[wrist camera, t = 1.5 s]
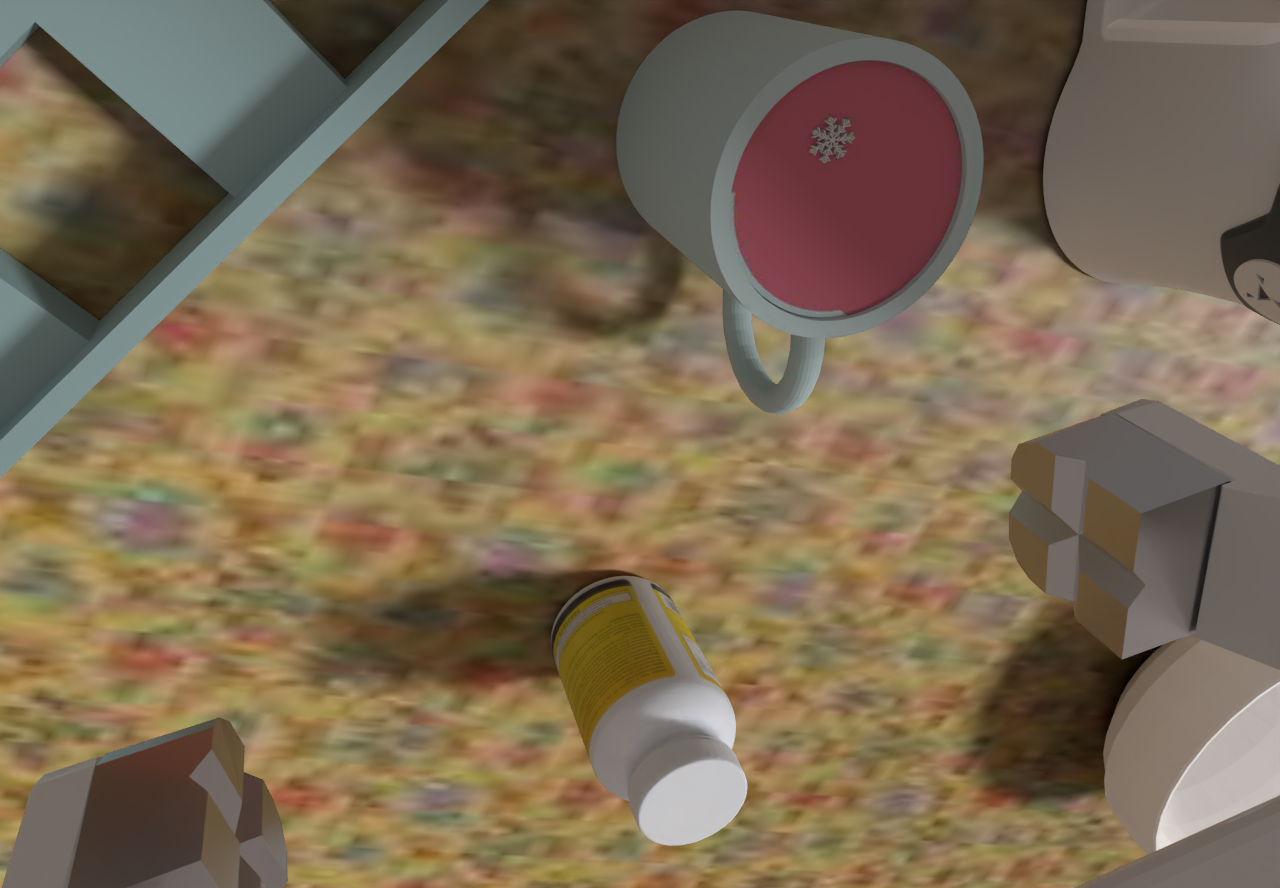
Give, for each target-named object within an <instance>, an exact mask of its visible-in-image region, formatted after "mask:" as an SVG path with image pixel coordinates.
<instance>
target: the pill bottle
mask: <svg viewBox="0 0 1280 888" xmlns="http://www.w3.org/2000/svg"><path fill="white" fill-rule="evenodd" d="M551 649H552V654H553V658H554V661H555V664H556V666H557V669H558V672H559V675H560V678H561V681H562V683H563V686H564V689H565V692H566V695H567V698H568V700H569V703H570V706H571V709H572V712H573V714H574V717H575V720H576V723H577V726H578V728H579V731H580V734H581V737H582V739H583V742H584V745H585V748H586V750H587V753H588V756H589V759H590V762H591V765H592V767H593V770H594V772H595V774H596V776H597V778H598V779H599V780H600V782H601V783H602V784H603V785H604V786H605V788H607V789H608V790H609V791H610V792H612V793H613V794H615V795H616V796H618V797H620V798H623V799H625V800H628V801H629V804H630V808H631V810H632V812H633V815H634V817H635V819H636V822H637V824H638V826H639V828H640V830H641V831H642V833H643V834H644V835H645V836H646V837H647V838H649V839H650V840H652V841H654V842H656V843H659V844H663V845H684V844H689V843H693V842H697V841H699V840H702V839H704V838H706V837H708V836H710V835H712V834H714V833H716V832H717V831H719V830H720V829H721V828H723V827H724V826H725V825H727V824H728V823H729V822H730V821H731V820H732V819H733V818H734V817H735V815H736V814H737V813H738V811H739V810H740V808H741V807H742V805H743V803H744V800H745V797H746V794H747V780H746V777H745V774H744V772H743V770H742V768H741V766H740V764H739V762H738V759H737V757H736V755H735V753H734V752H733V751H732V747H733V744H734V740H735V733H736V721H735V715H734V712H733V708H732V706H731V704H730V701H729V699H728V697H727V696H726V694H725V692H724V690H723V689H722V687H721V685H720V683H719V681H718V680H717V678H716V676H715V675H714V673H713V671H712V669H711V668H710V666H709V664H708V662H707V660H706V659H705V657H704V655H703V653H702V652H701V650H700V648H699V646H698V645H697V643H696V641H695V639H694V638H693V636H692V634H691V632H690V631H689V629H688V627H687V625H686V624H685V622H684V620H683V618H682V616H681V615H680V613H679V611H678V609H677V607H676V606H675V604H674V602H673V601H672V599H671V598H670V596H669V595H668V594H667V593H666V592H665V591H664V590H663V589H662V588H661V587H660V586H658V585H657V584H655V583H653V582H651V581H649V580H647V579H644V578H640V577H635V576H616V577H610V578H606V579H603V580H600V581H597V582H595V583H592V584H590V585H588V586H587V587H585V588H583V589H582V590H580V591H579V592H578V593H576V594H575V595H574V596H573V597H572V598H571V599H569V601H568V602H567V603H566V604H565V605H564V606H563V608H562V609H561V611H560V612H559V614H558V616H557V618H556V620H555V622H554V625H553V628H552V633H551Z"/></svg>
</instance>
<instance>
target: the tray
mask: <svg viewBox="0 0 1280 888" xmlns="http://www.w3.org/2000/svg"><path fill="white" fill-rule="evenodd" d="M488 1H489V0H424V1H423V2H422V3H421V4H420V5H419V6H418V7H417V8H416V9H415V10H414V11H413V12H412V13H411V14H410V15H409V16H408V17H407V18H406V19H405V20H404V21H403V22H402V23H401V24H400V25H399V26H398V27H397V28H396V29H395V30H394V31H393V32H392V33H391V34H390V35H389V36H388V37H387V38H386V39H385V40H384V41H383V42H382V43H381V44H380V45H379V46H378V47H377V48H376V49H375V50H374V51H373V52H372V53H371V54H369V55H368V56H367V57H366V58H365V59H364V60H363V61H362V62H361V63H360V64H359V65H358V66H357V67H356V68H355V69H354V70H353V71H352V72H351V73H350V74H349V75H348V76H347V77H346V78H345V79H344V78H343V77H342V76H341V75H340V74H339V72H338V71H337V70H336V69H335V68H334V67H333V66H332V65H331V64H330V63H329V62H328V61H327V60H326V59H325V58H324V57H323V56H322V55H321V54H320V53H319V52H318V51H317V50H316V49H315V48H314V46H313V45H312V44H311V43H310V42H309V41H308V40H307V39H306V38H305V37H304V36H303V35H302V34H301V33H300V32H299V31H298V30H297V29H296V28H295V27H294V26H293V25H292V24H291V23H290V22H289V21H288V19H287V18H286V17H285V16H284V15H283V14H282V13H281V12H280V11H279V10H278V9H277V8H276V7H275V6H274V5H273V4H272V3H271V2H270V1H269V0H0V68H1V66H2V65H3V64H4V63H5V62H6V61H7V60H8V59H9V58H10V57H11V56H12V55H13V54H14V53H15V52H16V51H17V50H18V49H19V48H20V47H21V46H22V45H23V44H24V43H25V42H26V40H27V39H28V38H29V37H30V36H31V35H32V34H33V33H34V32H35V31H36V30H37V29H38V28H39V27H41V28H42V29H44V30H45V31H46V32H47V33H48V34H49V35H50V36H52V37H53V38H54V39H55V40H56V41H57V42H58V43H59V44H61V45H62V46H63V47H64V48H65V49H66V50H67V51H69V52H70V53H71V54H72V55H73V56H74V57H75V58H76V59H78V60H79V61H80V62H81V63H82V64H83V65H84V66H86V67H87V68H88V69H89V70H90V71H91V72H92V73H94V74H95V75H96V76H97V77H98V78H99V79H100V80H101V81H103V82H104V83H105V84H106V85H107V86H108V87H109V88H111V89H112V90H113V91H114V92H115V93H116V94H117V95H118V96H120V97H121V98H122V99H123V100H124V101H125V102H126V103H128V104H129V105H130V106H131V107H132V108H133V109H134V110H136V111H137V112H138V113H139V114H140V115H141V116H142V117H143V118H145V119H146V120H147V121H148V122H149V123H150V124H151V125H153V126H154V127H155V128H156V129H157V130H158V131H159V132H160V133H162V134H163V135H164V136H165V137H166V138H167V139H168V140H170V141H171V142H172V143H173V144H174V145H175V146H176V147H177V148H179V149H180V150H181V151H182V152H183V153H184V154H185V155H187V156H188V157H189V158H190V159H191V160H192V161H193V162H195V163H196V164H197V165H198V166H199V167H200V168H201V169H202V170H204V171H205V172H206V173H207V174H208V175H209V176H210V177H212V178H213V179H214V180H215V181H216V182H217V183H218V184H219V185H221V186H222V187H223V188H224V189H225V190H226V191H227V192H229V194H228V195H227V196H225V197H224V198H223V199H222V200H221V201H220V202H219V203H218V204H217V205H216V206H215V207H214V208H213V209H212V210H211V211H210V212H209V213H208V214H207V215H206V216H205V217H204V218H203V219H202V220H201V221H200V222H199V223H198V224H197V225H196V226H195V227H194V228H193V229H192V230H191V231H190V232H189V233H188V234H187V235H186V236H185V237H184V238H183V239H182V240H181V241H180V242H179V243H178V244H177V245H176V246H175V247H174V248H173V249H172V250H171V251H170V252H169V253H168V254H167V255H166V256H165V257H164V258H163V259H162V260H161V261H160V262H159V263H158V264H157V265H156V266H155V267H153V268H152V269H151V270H150V271H149V272H148V273H147V274H146V275H145V276H144V277H143V278H142V279H141V280H140V281H139V282H138V283H137V284H136V285H135V286H134V287H133V288H132V289H131V290H130V291H129V292H128V293H127V294H126V295H125V296H124V297H123V298H122V299H121V300H120V301H119V302H118V303H117V304H116V305H115V306H114V307H113V308H112V309H111V310H110V311H109V312H108V313H107V314H106V315H105V316H104V317H103V318H102V319H101V320H100V321H99V320H98V319H97V318H95V317H94V316H92V315H91V314H90V313H88V312H87V311H86V310H84V309H83V308H81V307H80V306H79V305H77V304H76V303H75V302H73V301H72V300H71V299H69V298H68V297H66V296H65V295H64V294H62V293H61V292H60V291H58V290H57V289H55V288H54V287H53V286H51V285H50V284H49V283H47V282H46V281H45V280H43V279H42V278H40V277H39V276H38V275H36V274H35V273H34V272H32V271H31V270H30V269H28V268H27V267H25V266H24V265H23V264H21V263H20V262H19V261H17V260H16V259H14V258H13V257H12V256H10V255H9V254H8V253H6V252H5V251H4V250H2V249H1V248H0V478H1V477H2V476H3V475H4V474H5V473H6V472H7V471H8V470H9V469H10V468H11V467H12V466H13V465H14V464H15V463H16V462H17V461H18V460H19V459H20V458H21V457H22V456H23V455H24V454H25V453H26V452H27V451H28V450H30V449H31V448H32V447H33V446H34V445H35V444H36V443H37V442H38V441H39V440H40V439H41V438H42V437H43V436H44V435H45V434H46V433H47V432H48V431H49V430H50V429H51V428H52V427H53V426H54V425H55V424H56V423H57V422H58V421H59V420H60V419H61V418H62V417H63V416H64V415H65V414H66V413H67V412H68V411H69V410H70V409H71V408H72V407H74V406H75V405H76V404H77V403H78V402H79V401H80V400H81V399H82V398H83V397H84V396H85V395H86V394H87V393H88V392H89V391H90V390H91V389H92V388H93V387H94V386H95V385H96V384H97V383H98V382H99V381H100V380H101V379H102V378H103V377H104V376H105V375H106V374H107V373H108V372H109V371H110V370H111V369H112V368H113V367H114V366H115V365H117V364H118V363H119V362H120V361H121V360H122V359H123V358H124V357H125V356H126V355H127V354H128V353H129V352H130V351H131V350H132V349H133V348H134V347H135V346H136V345H137V344H138V343H139V342H140V341H141V340H142V339H143V338H144V337H145V336H146V335H147V334H148V333H149V332H150V331H151V330H152V329H153V328H154V327H155V326H156V325H157V324H158V323H159V322H161V321H162V320H163V319H164V318H165V317H166V316H167V315H168V314H169V313H170V312H171V311H172V310H173V309H174V308H175V307H176V306H177V305H178V304H179V303H180V302H181V301H182V300H183V299H184V298H185V297H186V296H187V295H188V294H189V293H190V292H191V291H192V290H193V289H194V288H195V287H196V286H197V285H198V284H199V283H200V282H201V281H202V280H203V279H205V278H206V277H207V276H208V275H209V274H210V273H211V272H212V271H213V270H214V269H215V268H216V267H217V266H218V265H219V264H220V263H221V262H222V261H223V260H224V259H225V258H226V257H227V256H228V255H229V254H230V253H231V252H232V251H233V250H234V249H235V248H236V247H237V246H238V245H239V244H240V243H241V242H242V241H243V240H244V239H245V238H246V237H247V236H249V235H250V234H251V233H252V232H253V231H254V230H255V229H256V228H257V227H258V226H259V225H260V224H261V223H262V222H263V221H264V220H265V219H266V218H267V217H268V216H269V215H270V214H271V213H272V212H273V211H274V210H275V209H276V208H277V207H278V206H279V205H280V204H281V203H282V202H283V201H284V200H285V199H286V198H287V197H288V196H289V195H290V194H292V193H293V192H294V191H295V190H296V189H297V188H298V187H299V186H300V185H301V184H302V183H303V182H304V181H305V180H306V179H307V178H308V177H309V176H310V175H311V174H312V173H313V172H314V171H315V170H316V169H317V168H318V167H319V166H320V165H321V164H322V163H323V162H324V161H325V160H326V159H327V158H328V157H329V156H330V155H331V154H332V153H333V152H334V151H336V150H337V149H338V148H339V147H340V146H341V145H342V144H343V143H344V142H345V141H346V140H347V139H348V138H349V137H350V136H351V135H352V134H353V133H354V132H355V131H356V130H357V129H358V128H359V127H360V126H361V125H362V124H363V123H364V122H365V121H366V120H367V119H368V118H369V117H370V116H371V115H372V114H373V113H374V112H375V111H376V110H377V109H378V108H380V107H381V106H382V105H383V104H384V103H385V102H386V101H387V100H388V99H389V98H390V97H391V96H392V95H393V94H394V93H395V92H396V91H397V90H398V89H399V88H400V87H401V86H402V85H403V84H404V83H405V82H406V81H407V80H408V79H409V78H410V77H411V76H412V75H413V74H414V73H415V72H416V71H417V70H418V69H419V68H420V67H421V66H422V65H424V64H425V63H426V62H427V61H428V60H429V59H430V58H431V57H432V56H433V55H434V54H435V53H436V52H437V51H438V50H439V49H440V48H441V47H442V46H443V45H444V44H445V43H446V42H447V41H448V40H449V39H450V38H451V37H452V36H453V35H454V34H455V33H456V32H457V31H458V30H459V29H460V28H461V27H462V26H463V25H464V24H465V23H466V22H468V21H469V20H470V19H471V18H472V17H473V16H474V15H475V14H476V13H477V12H478V11H479V10H480V9H481V8H482V7H483V6H484V5H485V4H486V3H487V2H488Z"/></svg>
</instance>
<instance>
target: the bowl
mask: <svg viewBox="0 0 1280 888" xmlns="http://www.w3.org/2000/svg"><path fill="white" fill-rule="evenodd" d="M1103 757H1104V768H1105V776H1104V786H1105V797H1106V800H1107V802H1108V804H1109V806H1110V809H1111V811H1112V812H1113V813H1114V815H1115V816H1116V817H1117V819H1118V820H1119V821H1120V822H1121V824H1122V825H1123V826H1124V827H1125V829H1126V830H1127V831H1128V833H1129V834H1130V835H1131V836H1132V838H1133V839H1134V840H1135V841H1136V842H1137V843H1138V845H1139V846H1140V847H1141V848H1142V849H1143V850H1144V851H1145V853H1146V854H1147V855H1148V854H1150V853H1153V852H1155V851H1157V850H1159V849H1161V848H1164V847H1166V846H1168V845H1170V844H1173V843H1175V842H1177V841H1179V840H1181V839H1184V838H1186V837H1188V836H1190V835H1193V834H1195V833H1197V832H1199V831H1201V830H1204V829H1206V828H1208V827H1210V826H1212V825H1215V824H1217V823H1219V822H1221V821H1224V820H1226V819H1228V818H1230V817H1232V816H1235V815H1237V814H1239V813H1241V812H1243V811H1246V810H1248V809H1250V808H1252V807H1255V806H1257V805H1259V804H1261V803H1263V802H1266V801H1268V800H1270V799H1272V798H1275V797H1277V796H1279V795H1280V670H1278V669H1276V668H1273V667H1270V666H1268V665H1265V664H1263V663H1260V662H1258V661H1255V660H1252V659H1250V658H1247V657H1245V656H1242V655H1239V654H1237V653H1234V652H1232V651H1229V650H1226V649H1224V648H1221V647H1219V646H1216V645H1214V644H1211V643H1208V642H1206V641H1203V640H1201V639H1198V638H1195V633H1193V634H1190V635H1187V636H1185V637H1182V638H1179V639H1176V640H1174V641H1171V642H1168V643H1166V644H1163V645H1162V646H1161V647H1159V648H1158V649H1157V650H1156V651H1155V652H1154V653H1153V654H1152V655H1151V656H1150V657H1149V658H1148V659H1147V660H1146V661H1145V662H1144V663H1143V664H1142V665H1141V666H1140V667H1139V669H1138V670H1137V671H1136V673H1135V674H1134V675H1133V677H1132V678H1131V679H1130V681H1129V682H1128V684H1127V686H1126V687H1125V689H1124V691H1123V693H1122V695H1121V696H1120V699H1119V701H1118V704H1117V706H1116V709H1115V712H1114V715H1113V717H1112V720H1111V723H1110V726H1109V728H1108V731H1107V734H1106V739H1105V745H1104V750H1103Z"/></svg>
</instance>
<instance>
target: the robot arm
mask: <svg viewBox="0 0 1280 888" xmlns="http://www.w3.org/2000/svg"><path fill="white" fill-rule="evenodd" d="M1043 191H1044V201H1045V207H1046V213H1047V217H1048V220H1049V224H1050V227H1051V230H1052V232H1053V235H1054V237H1055V239H1056V241H1057V243H1058V244H1059V246H1060V248H1061V249H1062V251H1063V252H1064V254H1065V255H1066V256H1067V257H1068V258H1069V260H1070V261H1071V262H1072V263H1073V264H1074V265H1075V266H1077V267H1078V268H1079V269H1080V270H1082V271H1083V272H1085V273H1086V274H1088V275H1090V276H1092V277H1094V278H1096V279H1099V280H1102V281H1105V282H1109V283H1114V284H1126V285H1149V286H1158V287H1166V288H1173V289H1179V290H1185V291H1190V292H1195V293H1199V294H1204V295H1208V296H1212V297H1216V298H1221V299H1225V300H1228V301H1232V302H1236V303H1239V304H1242V305H1245V306H1246V307H1247V308H1249V309H1250V310H1252V311H1254V312H1256V313H1258V314H1260V315H1261V316H1263V317H1265V318H1267V319H1269V320H1271V321H1273V322H1275V323H1277V324H1279V325H1280V0H1088V1H1087V7H1086V15H1085V22H1084V32H1083V41H1082V44H1081V47H1080V50H1079V53H1078V56H1077V59H1076V61H1075V64H1074V66H1073V68H1072V71H1071V73H1070V75H1069V77H1068V80H1067V82H1066V84H1065V87H1064V89H1063V91H1062V94H1061V96H1060V99H1059V101H1058V104H1057V107H1056V110H1055V113H1054V116H1053V119H1052V123H1051V126H1050V130H1049V134H1048V139H1047V144H1046V150H1045V157H1044V169H1043ZM1011 480H1012V481H1013V482H1014V483H1015V484H1016V485H1017V486H1018V487H1019V488H1020V489H1021V490H1022V492H1021V494H1020V496H1019V497H1018V499H1017V501H1016V502H1015V504H1014V505H1013V507H1012V509H1011V510H1010V512H1009V540H1010V543H1011V545H1012V548H1013V551H1014V554H1015V556H1016V559H1017V562H1018V563H1019V565H1020V566H1021V568H1022V569H1023V571H1024V572H1025V573H1026V575H1027V576H1028V578H1029V579H1030V580H1031V581H1032V582H1033V583H1035V584H1036V585H1037V586H1038V587H1039V588H1040V589H1041V590H1042V591H1043V592H1044V593H1046V594H1049V595H1053V596H1056V597H1060V598H1063V599H1066V600H1070V601H1073V607H1074V615H1075V620H1076V621H1078V622H1079V623H1080V624H1081V625H1082V626H1083V627H1085V628H1086V629H1087V630H1088V631H1089V632H1090V633H1092V634H1093V635H1094V636H1095V637H1096V638H1097V639H1099V640H1100V641H1101V642H1102V643H1103V644H1104V645H1105V646H1107V647H1108V648H1109V649H1110V650H1111V651H1112V652H1114V653H1115V654H1116V655H1117V656H1118V657H1119V658H1121V659H1125V658H1127V657H1130V656H1133V655H1136V654H1138V653H1141V652H1144V651H1147V650H1149V649H1152V648H1155V647H1157V646H1160V645H1163V644H1166V643H1168V642H1171V641H1174V640H1176V639H1179V638H1182V637H1185V636H1187V635H1190V634H1193V633H1195V638H1198V639H1201V640H1203V641H1206V642H1208V643H1211V644H1214V645H1216V646H1219V647H1221V648H1224V649H1226V650H1229V651H1232V652H1234V653H1237V654H1239V655H1242V656H1245V657H1247V658H1250V659H1252V660H1255V661H1258V662H1260V663H1263V664H1265V665H1268V666H1270V667H1273V668H1276V669H1278V670H1280V465H1277V464H1275V463H1273V462H1272V461H1270V460H1268V459H1266V458H1264V457H1262V456H1260V455H1258V454H1257V453H1255V452H1253V451H1251V450H1249V449H1247V448H1245V447H1243V446H1242V445H1240V444H1238V443H1236V442H1234V441H1232V440H1230V439H1228V438H1227V437H1225V436H1223V435H1221V434H1219V433H1217V432H1215V431H1214V430H1212V429H1210V428H1208V427H1206V426H1204V425H1202V424H1200V423H1199V422H1197V421H1195V420H1193V419H1191V418H1189V417H1187V416H1185V415H1184V414H1182V413H1180V412H1178V411H1176V410H1174V409H1172V408H1170V407H1169V406H1167V405H1165V404H1163V403H1161V402H1159V401H1153V400H1145V399H1141V400H1138V401H1135V402H1133V403H1130V404H1127V405H1124V406H1122V407H1119V408H1116V409H1114V410H1111V411H1108V412H1106V413H1103V414H1101V415H1100V416H1099V417H1096V418H1092V419H1090V420H1087V421H1084V422H1081V423H1078V424H1075V425H1072V426H1070V427H1067V428H1064V429H1061V430H1058V431H1055V432H1052V433H1050V434H1047V435H1044V436H1041V437H1038V438H1035V439H1032V440H1030V441H1027V442H1024V443H1021V444H1018V446H1017V448H1016V451H1015V453H1014V455H1013V457H1012V463H1011ZM287 881H288V877H287V851H286V845H285V840H284V835H283V829H282V824H281V820H280V817H279V814H278V812H277V809H276V806H275V803H274V801H273V798H272V796H271V794H270V792H269V790H268V789H267V787H266V785H265V783H264V781H263V780H262V779H260V778H257V777H255V776H252V775H250V774H247V773H245V772H244V745H243V743H242V741H241V740H240V738H239V736H238V735H237V733H236V731H235V730H234V728H233V726H232V725H231V723H230V722H229V721H227V720H225V719H222V718H216V719H213V720H210V721H207V722H204V723H201V724H198V725H195V726H191V727H188V728H185V729H182V730H179V731H176V732H173V733H170V734H166V735H163V736H160V737H157V738H154V739H151V740H148V741H145V742H141V743H138V744H135V745H132V746H129V747H126V748H123V749H120V750H116V751H113V752H110V753H107V754H105V755H104V756H103V757H97V758H94V759H91V760H88V761H85V762H82V763H78V764H75V765H72V766H69V767H66V768H63V769H60V770H57V771H54V772H51V773H48V774H45V775H44V776H43V777H42V778H41V779H40V780H39V781H38V782H37V783H36V784H35V785H34V786H33V787H32V789H31V791H30V795H29V798H28V802H27V805H26V808H25V812H24V815H23V818H22V822H21V825H20V828H19V832H18V835H17V838H16V842H15V845H14V848H13V852H12V855H11V858H10V862H9V865H8V868H7V872H6V875H5V878H4V882H3V885H2V888H283V887H284V886H285V884H286V882H287ZM1075 888H1280V795H1279V796H1277V797H1275V798H1272V799H1270V800H1268V801H1266V802H1263V803H1261V804H1259V805H1257V806H1255V807H1252V808H1250V809H1248V810H1246V811H1243V812H1241V813H1239V814H1237V815H1235V816H1232V817H1230V818H1228V819H1226V820H1224V821H1221V822H1219V823H1217V824H1215V825H1212V826H1210V827H1208V828H1206V829H1204V830H1201V831H1199V832H1197V833H1195V834H1193V835H1190V836H1188V837H1186V838H1184V839H1181V840H1179V841H1177V842H1175V843H1173V844H1170V845H1168V846H1166V847H1164V848H1161V849H1159V850H1157V851H1155V852H1153V853H1150V854H1148V855H1146V856H1144V857H1142V858H1139V859H1137V860H1135V861H1133V862H1130V863H1128V864H1126V865H1124V866H1122V867H1119V868H1117V869H1115V870H1113V871H1110V872H1108V873H1106V874H1104V875H1102V876H1099V877H1097V878H1095V879H1093V880H1091V881H1088V882H1086V883H1084V884H1082V885H1079V886H1077V887H1075Z"/></svg>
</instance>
